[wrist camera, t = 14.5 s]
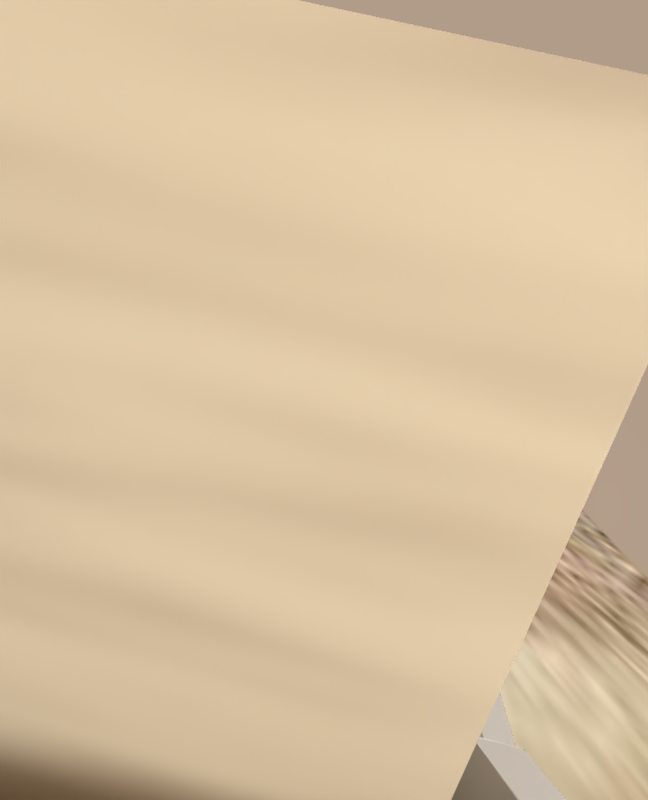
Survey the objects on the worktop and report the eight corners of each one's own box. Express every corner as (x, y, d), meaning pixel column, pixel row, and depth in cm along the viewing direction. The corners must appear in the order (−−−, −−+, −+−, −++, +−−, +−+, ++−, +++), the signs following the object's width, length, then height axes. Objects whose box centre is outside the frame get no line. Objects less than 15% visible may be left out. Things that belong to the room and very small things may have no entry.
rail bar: (252, 1239, 8) (766, 101, 3) (-13, 1153, 8) (-16, -65, 3) (298, 882, 13) (521, 200, 8) (128, 831, 13) (226, 133, 8)
